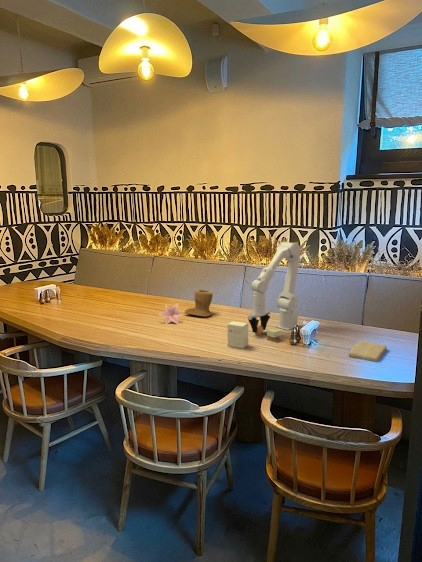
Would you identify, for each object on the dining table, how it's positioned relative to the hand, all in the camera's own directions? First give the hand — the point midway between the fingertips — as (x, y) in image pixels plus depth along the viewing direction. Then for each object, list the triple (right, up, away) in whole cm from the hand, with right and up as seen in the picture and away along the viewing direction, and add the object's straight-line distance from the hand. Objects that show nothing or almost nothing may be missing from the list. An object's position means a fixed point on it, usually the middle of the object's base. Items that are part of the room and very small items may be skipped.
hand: (259, 330), depth 204 cm
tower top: (+6, -1, -10) cm, 11 cm away
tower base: (+6, -3, -9) cm, 11 cm away
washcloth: (+43, -7, -28) cm, 52 cm away
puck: (0, -1, 0) cm, 2 cm away
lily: (-45, +2, +22) cm, 51 cm away
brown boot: (-30, +5, +36) cm, 47 cm away
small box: (-12, -5, -16) cm, 21 cm away
